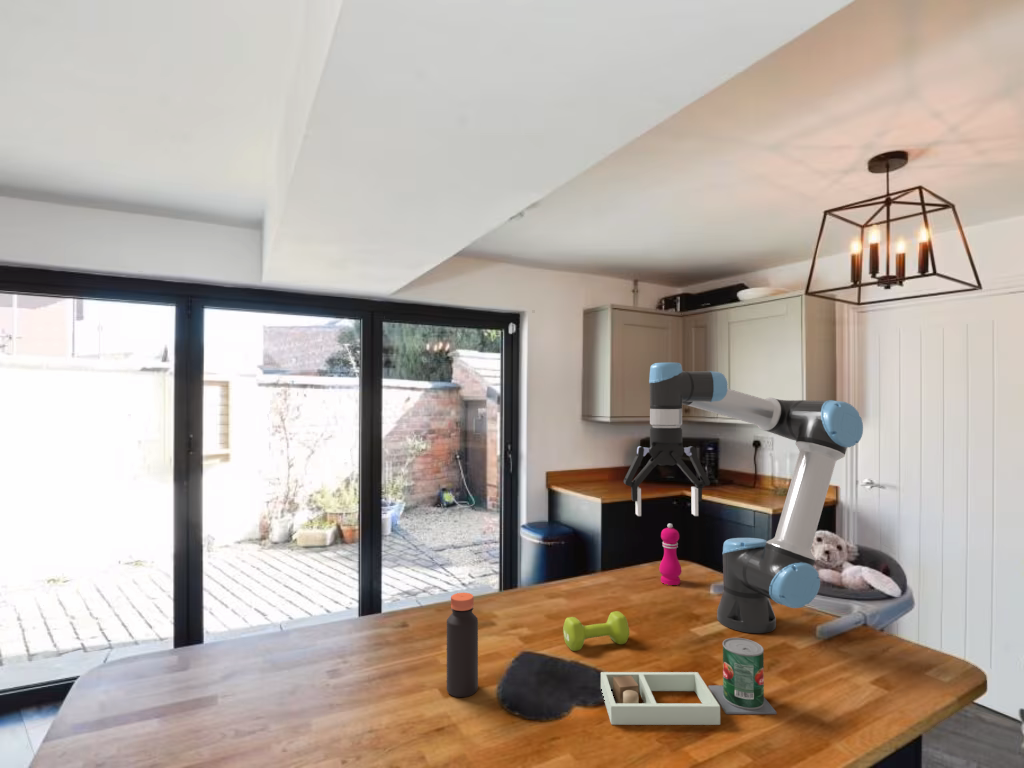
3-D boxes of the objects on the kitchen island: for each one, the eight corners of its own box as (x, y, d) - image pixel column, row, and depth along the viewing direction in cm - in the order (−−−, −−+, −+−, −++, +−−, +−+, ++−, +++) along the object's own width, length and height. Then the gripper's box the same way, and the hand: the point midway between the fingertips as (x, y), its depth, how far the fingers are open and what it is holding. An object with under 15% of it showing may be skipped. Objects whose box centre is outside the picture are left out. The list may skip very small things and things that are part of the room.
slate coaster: (754, 687, 119) (754, 685, 119) (776, 714, 109) (776, 712, 109) (708, 687, 119) (708, 685, 119) (726, 714, 109) (726, 712, 109)
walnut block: (631, 694, 116) (631, 675, 116) (638, 705, 112) (638, 685, 112) (613, 696, 116) (613, 677, 116) (620, 707, 112) (619, 687, 112)
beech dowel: (636, 709, 110) (636, 689, 111) (640, 718, 108) (640, 698, 108) (621, 709, 110) (621, 689, 111) (624, 718, 108) (624, 698, 108)
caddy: (697, 688, 118) (697, 672, 118) (720, 724, 105) (720, 706, 105) (600, 688, 119) (600, 672, 119) (611, 724, 106) (611, 706, 106)
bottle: (470, 700, 114) (469, 604, 114) (440, 694, 116) (441, 600, 117) (482, 684, 120) (482, 593, 121) (455, 679, 123) (455, 589, 123)
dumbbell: (618, 634, 146) (618, 607, 146) (632, 647, 138) (632, 618, 138) (560, 642, 141) (560, 613, 141) (572, 656, 134) (572, 626, 134)
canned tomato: (716, 689, 117) (715, 638, 117) (751, 688, 118) (750, 636, 118) (734, 711, 109) (734, 655, 109) (772, 709, 110) (771, 653, 110)
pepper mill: (682, 580, 187) (681, 521, 187) (681, 587, 180) (680, 526, 181) (660, 578, 189) (659, 520, 190) (658, 585, 183) (658, 525, 183)
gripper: (712, 425, 136) (712, 511, 135) (611, 425, 136) (612, 511, 135) (723, 427, 128) (724, 518, 128) (617, 427, 128) (617, 518, 128)
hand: (666, 514), depth 132 cm, fingers open, 13 cm apart
